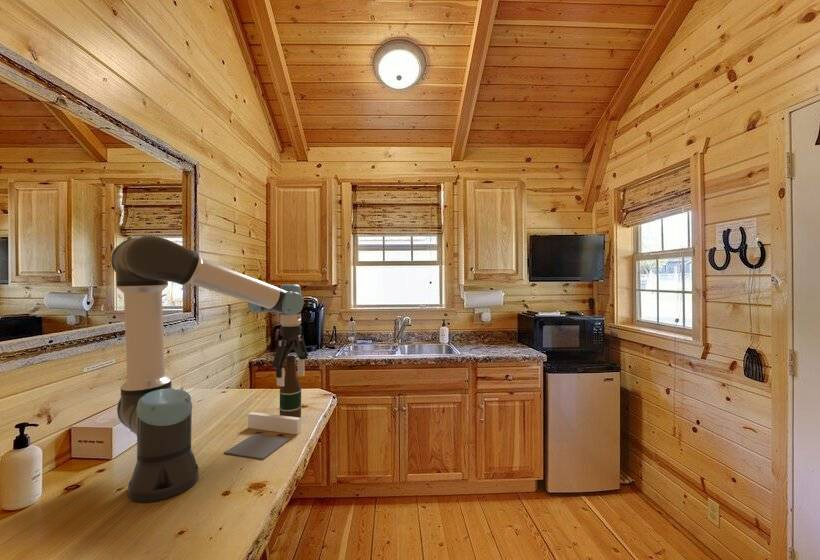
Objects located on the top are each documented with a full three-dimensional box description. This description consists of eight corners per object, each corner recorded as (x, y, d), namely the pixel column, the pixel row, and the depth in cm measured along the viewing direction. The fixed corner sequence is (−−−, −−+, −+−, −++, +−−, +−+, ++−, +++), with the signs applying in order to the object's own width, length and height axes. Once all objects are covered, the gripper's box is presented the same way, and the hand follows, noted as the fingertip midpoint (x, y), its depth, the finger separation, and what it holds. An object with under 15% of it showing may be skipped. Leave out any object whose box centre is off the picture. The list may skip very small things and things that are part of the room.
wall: (297, 434, 124) (297, 419, 124) (248, 427, 129) (248, 413, 129) (300, 432, 126) (300, 417, 126) (251, 425, 131) (251, 412, 131)
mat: (263, 459, 107) (263, 458, 107) (224, 453, 110) (224, 452, 110) (290, 439, 120) (290, 438, 120) (254, 434, 124) (254, 433, 124)
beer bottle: (275, 421, 136) (275, 357, 135) (290, 414, 142) (291, 353, 142) (290, 425, 132) (290, 359, 132) (305, 417, 139) (305, 355, 139)
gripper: (279, 330, 124) (280, 391, 124) (316, 321, 148) (316, 372, 148) (260, 329, 126) (261, 389, 126) (300, 320, 150) (300, 371, 150)
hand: (291, 380), depth 137 cm, fingers open, 13 cm apart
